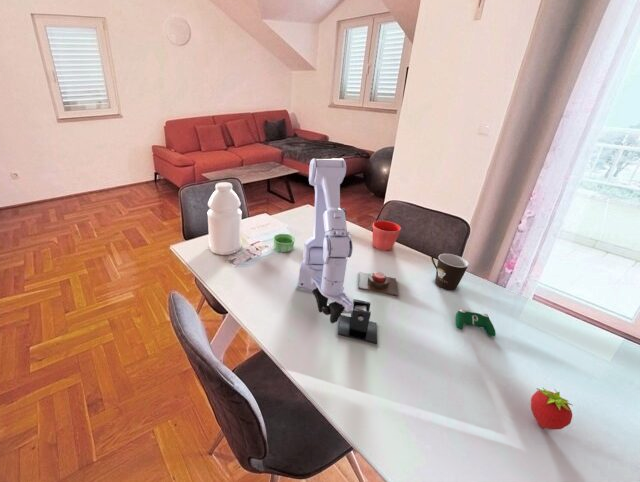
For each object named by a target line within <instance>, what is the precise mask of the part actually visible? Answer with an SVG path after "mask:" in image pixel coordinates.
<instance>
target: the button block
mask: <svg viewBox="0 0 640 482" xmlns="http://www.w3.org/2000/svg"><path fill="white" fill-rule="evenodd" d="M374 273H375V272H373V273H370V272H369V273H368V272H363V271H359V274H358V289H359V290H362V291H366V292H367V291H368V292H373V293H378V294H383V295H387V296H392V297H399V290H398V285H397V284H398V283H397V279H396V278H395V277H391V276H386V275H385V280H384V282H377V281H375V280H374V279H373V275H374Z"/></svg>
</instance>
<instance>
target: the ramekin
mask: <svg viewBox="0 0 640 482" xmlns="http://www.w3.org/2000/svg"><path fill="white" fill-rule="evenodd" d="M272 241H273V247H274V249H275V250H276V251H278V252H282V253H288V252H291V251H292V250H293V249H294V245H295V242H296V238H295V237H294V236H293V235H291V234H289V233H278V234H275V235H274V236H273V237H272Z"/></svg>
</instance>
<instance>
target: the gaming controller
mask: <svg viewBox="0 0 640 482" xmlns="http://www.w3.org/2000/svg"><path fill="white" fill-rule="evenodd" d="M465 325H466V326H473V327H477V328H482V330H483V331H484V332H485V333H486V334H487V335H488V336H489V337H496V329H495V327H494V325H493V323H492V321H491V319H490V317H489V314H488V313H478V312H473V311H467V310H466V309H458V310H457V312H456V314H455V326H456V329H458V330H460V331H461V330H463V329H464V326H465Z"/></svg>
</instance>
